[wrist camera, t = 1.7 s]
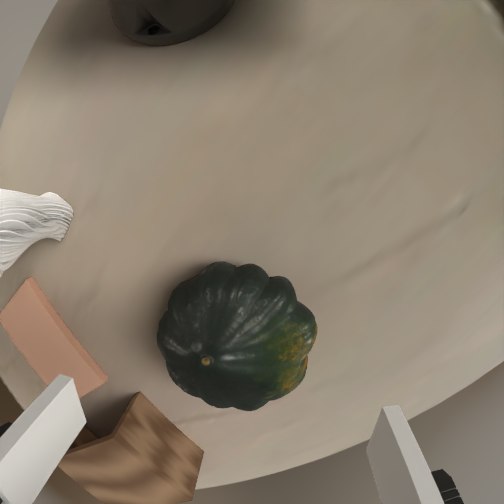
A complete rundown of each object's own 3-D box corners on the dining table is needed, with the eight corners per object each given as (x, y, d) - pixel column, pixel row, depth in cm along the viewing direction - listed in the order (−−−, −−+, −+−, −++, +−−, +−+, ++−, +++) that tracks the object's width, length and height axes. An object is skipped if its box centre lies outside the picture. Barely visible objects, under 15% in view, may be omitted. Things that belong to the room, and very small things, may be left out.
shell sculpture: (51, 170, 33) (-61, 176, 15) (93, 206, 34) (-22, 232, 16) (28, 223, 34) (-74, 253, 17) (66, 260, 35) (-36, 310, 18)
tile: (4, 313, 39) (-3, 317, 37) (34, 275, 37) (26, 279, 35) (70, 399, 41) (64, 406, 39) (110, 376, 39) (104, 383, 37)
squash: (288, 420, 32) (321, 424, 19) (161, 393, 33) (113, 378, 20) (306, 307, 39) (340, 247, 26) (189, 284, 40) (167, 216, 27)
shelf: (77, 423, 42) (50, 459, 32) (140, 391, 39) (113, 438, 29) (132, 473, 44) (115, 511, 34) (204, 451, 41) (192, 500, 31)
